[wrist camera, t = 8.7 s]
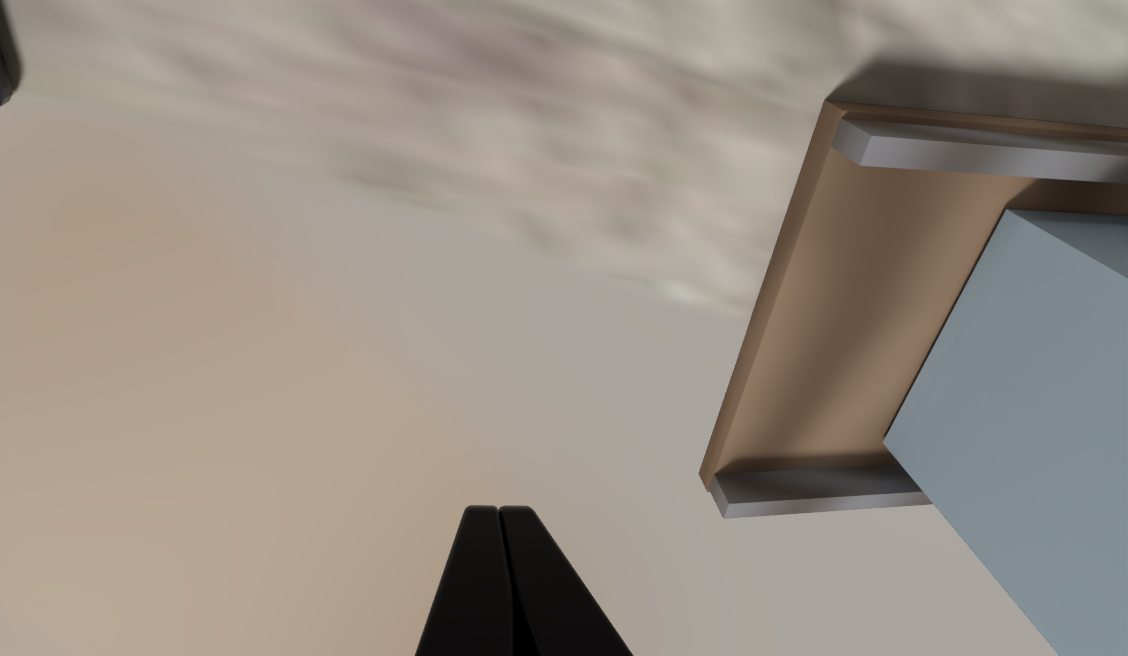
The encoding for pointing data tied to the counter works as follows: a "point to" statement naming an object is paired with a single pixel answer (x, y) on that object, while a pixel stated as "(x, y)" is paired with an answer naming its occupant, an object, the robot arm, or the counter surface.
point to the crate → (1036, 423)
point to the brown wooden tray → (880, 291)
